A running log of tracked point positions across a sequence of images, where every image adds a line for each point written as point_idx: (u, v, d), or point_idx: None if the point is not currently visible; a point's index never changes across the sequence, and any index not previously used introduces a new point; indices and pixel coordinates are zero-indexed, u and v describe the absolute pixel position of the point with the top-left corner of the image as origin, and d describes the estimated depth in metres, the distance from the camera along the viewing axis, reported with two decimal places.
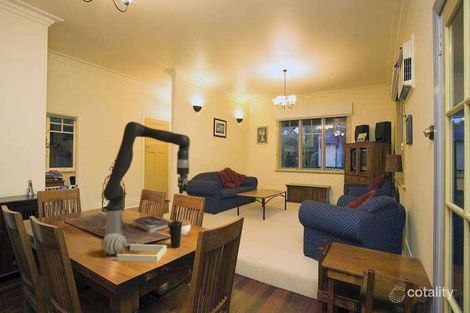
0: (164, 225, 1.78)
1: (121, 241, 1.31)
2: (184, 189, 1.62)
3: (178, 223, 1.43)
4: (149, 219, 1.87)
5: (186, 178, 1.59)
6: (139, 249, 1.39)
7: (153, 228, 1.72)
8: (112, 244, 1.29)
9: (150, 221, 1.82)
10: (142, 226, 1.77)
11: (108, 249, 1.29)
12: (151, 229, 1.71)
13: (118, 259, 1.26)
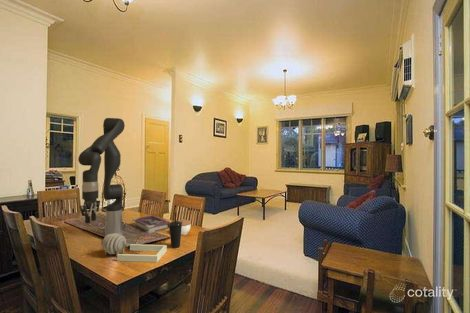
0: (164, 225, 1.78)
1: (121, 241, 1.31)
2: (93, 218, 1.36)
3: (178, 223, 1.43)
4: (149, 219, 1.87)
5: (95, 203, 1.35)
6: (139, 249, 1.39)
7: (152, 228, 1.72)
8: (112, 244, 1.29)
9: (150, 221, 1.82)
10: (142, 226, 1.78)
11: (108, 249, 1.29)
12: (150, 229, 1.71)
13: (118, 259, 1.26)
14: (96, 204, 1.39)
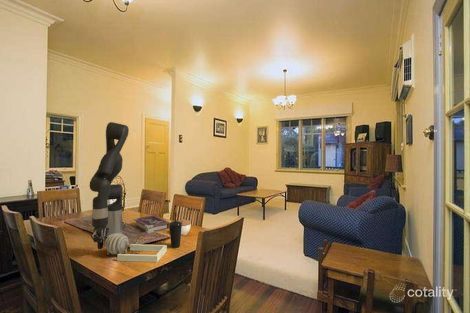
0: (163, 225, 1.77)
1: (123, 241, 1.31)
2: None
3: (178, 223, 1.43)
4: (150, 219, 1.87)
5: (104, 229, 1.35)
6: (139, 249, 1.39)
7: (151, 228, 1.72)
8: (114, 244, 1.29)
9: (150, 221, 1.82)
10: (142, 226, 1.78)
11: (110, 249, 1.29)
12: (149, 229, 1.71)
13: (118, 259, 1.26)
14: (105, 231, 1.38)
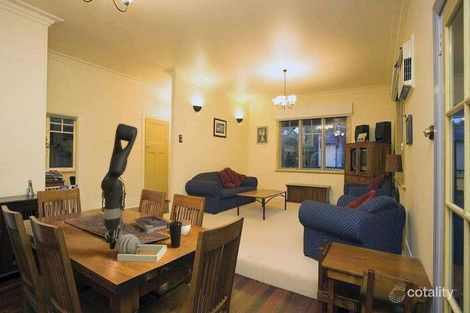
0: (163, 226, 1.77)
1: (134, 242, 1.29)
2: None
3: (178, 223, 1.43)
4: (150, 219, 1.87)
5: (116, 229, 1.34)
6: (139, 249, 1.39)
7: (151, 228, 1.71)
8: (125, 245, 1.28)
9: (150, 221, 1.82)
10: (142, 226, 1.78)
11: (121, 250, 1.28)
12: (149, 229, 1.71)
13: (118, 259, 1.26)
14: (116, 231, 1.37)
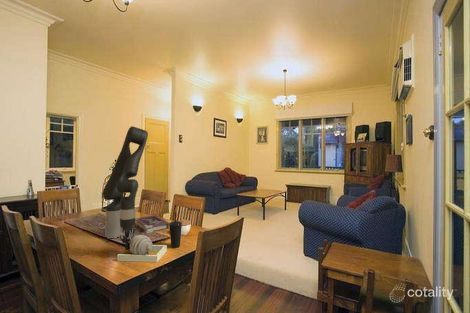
0: (162, 226, 1.77)
1: (144, 244, 1.27)
2: None
3: (178, 223, 1.43)
4: (150, 219, 1.87)
5: (132, 230, 1.34)
6: None
7: (150, 228, 1.71)
8: (136, 246, 1.26)
9: (150, 221, 1.82)
10: (142, 226, 1.78)
11: (132, 251, 1.27)
12: (148, 229, 1.70)
13: (118, 259, 1.26)
14: (131, 232, 1.37)
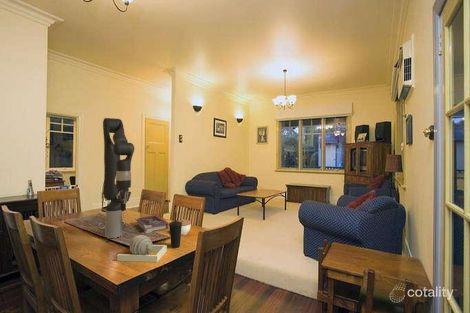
0: (162, 226, 1.76)
1: (144, 244, 1.27)
2: None
3: (178, 223, 1.43)
4: (151, 219, 1.87)
5: (127, 192, 1.39)
6: None
7: (150, 228, 1.71)
8: (136, 246, 1.26)
9: (150, 221, 1.82)
10: (141, 225, 1.78)
11: (133, 251, 1.27)
12: (147, 229, 1.70)
13: (118, 259, 1.26)
14: None
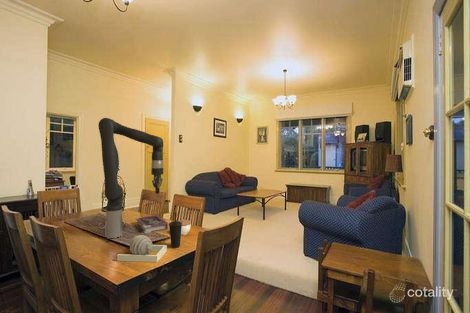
0: (161, 226, 1.76)
1: (144, 244, 1.27)
2: None
3: (178, 223, 1.43)
4: (151, 219, 1.87)
5: (160, 178, 1.66)
6: None
7: (149, 228, 1.71)
8: (136, 246, 1.26)
9: (150, 221, 1.82)
10: (141, 225, 1.79)
11: (133, 251, 1.27)
12: (147, 229, 1.70)
13: (118, 259, 1.26)
14: None
